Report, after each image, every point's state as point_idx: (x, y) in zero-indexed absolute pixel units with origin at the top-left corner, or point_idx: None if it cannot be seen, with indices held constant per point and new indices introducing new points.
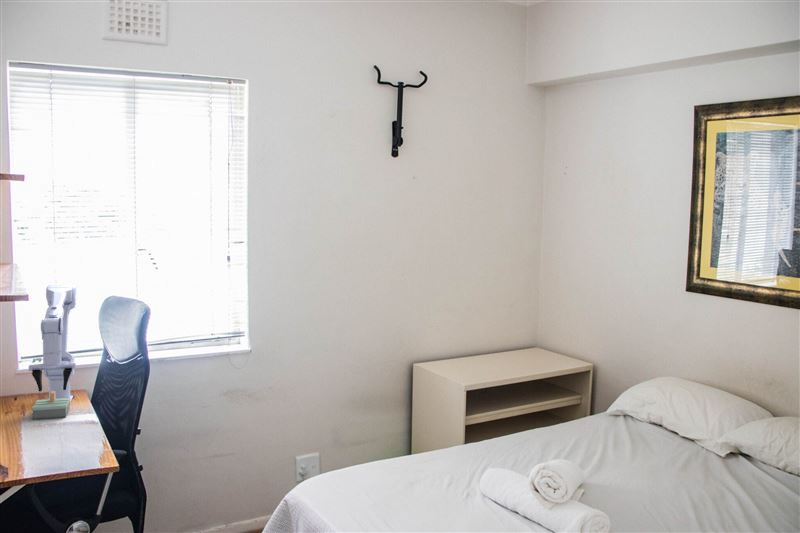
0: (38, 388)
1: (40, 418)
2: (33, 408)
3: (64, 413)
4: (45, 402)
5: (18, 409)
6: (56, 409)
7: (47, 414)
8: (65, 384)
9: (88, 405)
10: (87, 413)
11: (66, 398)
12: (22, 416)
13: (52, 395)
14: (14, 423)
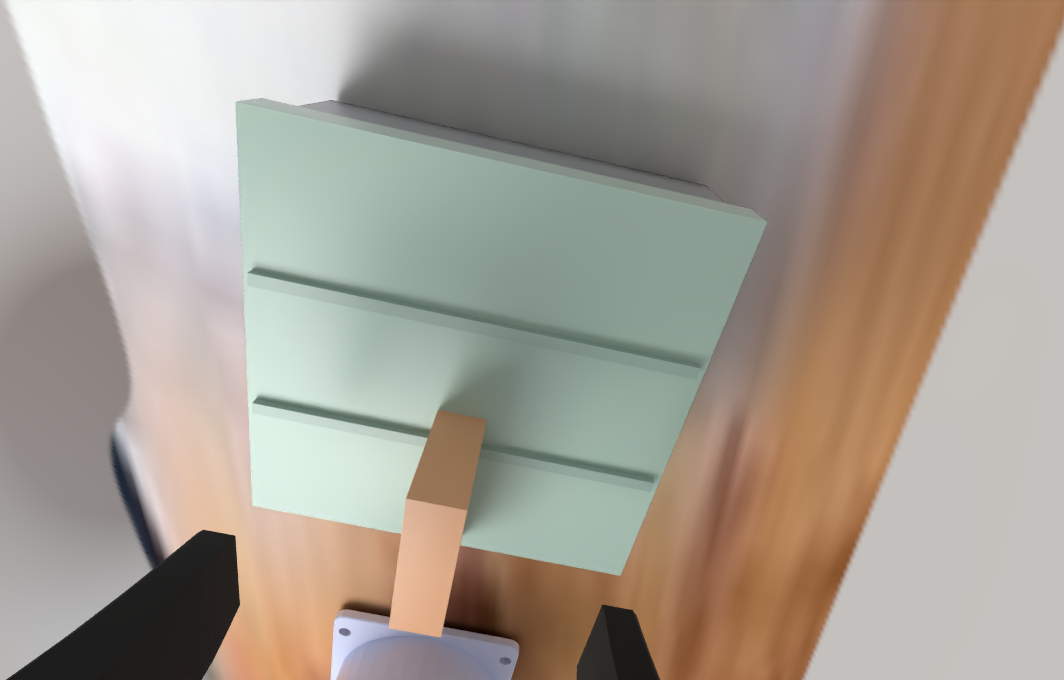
0: (652, 662)
1: (622, 168)
2: (741, 214)
3: (323, 107)
4: (544, 430)
5: (737, 607)
6: None
7: (541, 155)
8: (110, 615)
9: (170, 483)
10: (107, 195)
11: (292, 498)
12: (763, 395)
13: (434, 477)
14: (924, 142)
